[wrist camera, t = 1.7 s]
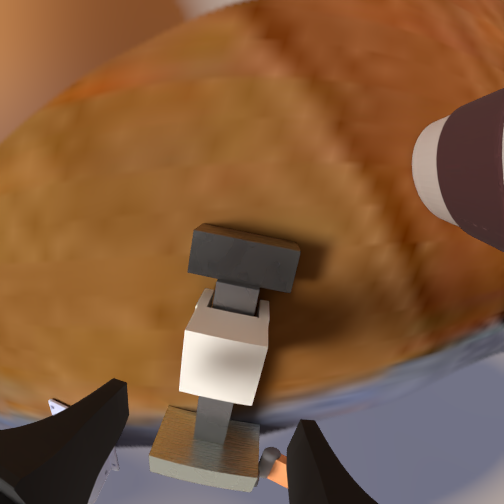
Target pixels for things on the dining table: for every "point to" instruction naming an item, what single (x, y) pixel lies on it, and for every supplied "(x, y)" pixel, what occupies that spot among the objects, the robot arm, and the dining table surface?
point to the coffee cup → (465, 168)
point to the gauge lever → (273, 466)
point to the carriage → (224, 352)
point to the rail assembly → (212, 410)
